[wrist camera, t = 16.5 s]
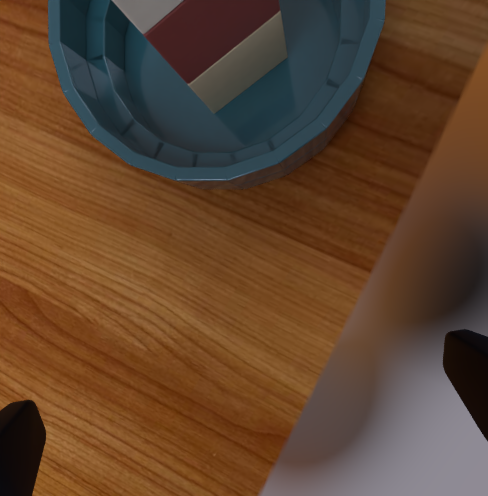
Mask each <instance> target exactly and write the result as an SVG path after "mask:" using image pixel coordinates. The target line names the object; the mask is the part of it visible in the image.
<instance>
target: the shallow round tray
mask: <svg viewBox="0 0 488 496" xmlns="http://www.w3.org/2000/svg"><path fill="white" fill-rule="evenodd" d="M279 5H280V11H281V17H282V23H283V30H284V36H285V42H286V49H287V55H288V57H287V58H286V59H285V60H283V61H282V62H281V63H279V64H278V65H277V66H276V67H274V68H273V69H272V70H270V71H269V72H268V73H267V74H265V75H264V76H263V77H261V78H260V79H259V80H257V81H256V82H255V83H254V84H252V85H251V86H250V87H248V88H247V89H246V90H245V91H243V92H242V93H241V94H239V95H238V96H237V97H236V98H234V99H233V100H232V101H230V102H229V103H228V104H226V105H225V106H224V107H223V108H221V109H220V110H219V111H217V112H216V113H215V114H214V113H213V112H212V111H211V110H210V109H209V108H208V107H207V106H206V105H205V103H204V102H203V101H202V100H201V99H200V98H199V97H198V96H197V95H196V93H195V92H194V91H193V90H192V89H191V88H190V87H189V86H188V84H187V83H186V82H185V81H184V80H183V79H182V78H181V77H180V76H179V74H178V73H177V72H176V71H175V70H174V69H173V68H172V67H171V66H170V64H169V63H168V62H167V61H166V60H165V59H164V58H163V57H162V56H161V54H160V53H159V52H158V51H157V50H156V49H155V48H154V47H153V46H152V44H151V43H150V42H149V41H148V40H147V39H146V38H145V37H144V36H143V34H142V33H141V32H140V31H139V30H138V29H137V28H136V27H135V26H134V24H133V23H132V22H131V21H130V20H129V19H128V18H127V17H126V16H125V14H124V13H123V12H122V11H121V10H120V9H119V8H118V7H117V6H116V4H115V3H114V2H113V1H112V0H48V38H49V48H50V51H51V54H52V58H53V61H54V64H55V68H56V71H57V74H58V78H59V81H60V85H61V88H62V91H63V93H64V95H65V97H66V98H67V100H68V101H69V103H70V104H71V106H72V107H73V109H74V110H75V112H76V113H77V115H78V116H79V118H80V119H81V121H82V122H83V124H84V125H85V127H86V128H87V130H88V131H89V133H90V134H91V135H92V136H93V137H94V138H96V139H97V140H98V141H99V142H101V143H102V144H103V145H104V146H106V147H107V148H108V149H110V150H111V151H112V152H113V153H115V154H116V155H117V156H119V157H120V158H121V159H122V160H124V161H125V162H126V163H127V164H130V165H131V166H134V167H137V168H140V169H142V170H145V171H148V172H151V173H154V174H157V175H160V176H163V177H166V178H169V179H171V180H174V181H177V182H181V183H184V184H187V185H190V186H193V187H196V188H199V189H235V190H243V189H247V188H250V187H253V186H256V185H260V184H263V183H266V182H269V181H272V180H275V179H278V178H281V177H284V176H286V175H288V174H290V173H291V172H292V171H294V170H295V169H297V168H298V167H299V166H301V165H302V164H303V163H305V162H306V161H308V160H309V159H310V158H312V157H313V156H315V155H316V154H317V153H319V152H320V151H322V150H323V149H324V148H325V147H326V146H327V144H328V143H329V142H330V140H331V139H332V138H333V136H334V135H335V134H336V132H337V131H338V130H339V128H340V127H341V126H342V124H343V123H344V122H345V120H346V119H347V118H348V117H349V115H350V114H351V113H352V111H353V109H354V107H355V104H356V101H357V99H358V96H359V93H360V90H361V88H362V85H363V82H364V79H365V77H366V74H367V71H368V68H369V66H370V63H371V60H372V57H373V54H374V51H375V48H376V45H377V42H378V40H379V37H380V34H381V31H382V28H383V25H384V20H385V6H386V0H279Z"/></svg>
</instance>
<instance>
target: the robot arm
mask: <svg viewBox="0 0 488 496" xmlns="http://www.w3.org/2000/svg"><path fill="white" fill-rule="evenodd" d="M443 367H444V370H445V373H446V374H447V376H448V378H449V380H450V381H451V383H452V385H453V386H454V388H455V390H456V391H457V393H458V394H459V396H460V398H461V400H462V401H463V403H464V405H465V406H466V408H467V409H468V411H469V413H470V414H471V416H472V418H473V419H474V421H475V423H476V424H477V426H478V428H479V429H480V431H481V432H482V434H483V435H484V437H485V438H486V440H487V441H488V337H486V336H484V335H481V334H478V333H475V332H473V331H470V330H466V329H464V330H457V331H450V332H448V333H447V334H446V336H445V343H444V354H443ZM45 441H46V430H45V427H44V424H43V422H42V419H41V416H40V414H39V411H38V409H37V406H36V404H35V403H34V402H33V401H32V400H24V401H18V402H13V403H10V404H9V405H7V406H6V407H4V408H3V409H2V410H0V496H32V493H33V489H34V485H35V481H36V477H37V473H38V469H39V465H40V461H41V457H42V453H43V449H44V445H45Z"/></svg>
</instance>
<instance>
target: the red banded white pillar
mask: <svg viewBox="0 0 488 496" xmlns="http://www.w3.org/2000/svg"><path fill="white" fill-rule="evenodd" d="M112 1H113V2H114V3H115V4H116V6H117V7H118V8H119V9H120V10H121V11H122V12H123V13H124V14H125V16H126V17H127V18H128V19H129V20H130V21H131V22H132V23H133V24H134V26H135V27H136V28H137V29H138V30H139V31H140V32H141V33H142V34H143V36H144V37H145V38H146V39H147V40H148V41H149V42H150V43H151V44H152V46H153V47H154V48H155V49H156V50H157V51H158V52H159V53H160V54H161V56H162V57H163V58H164V59H165V60H166V61H167V62H168V63H169V64H170V66H171V67H172V68H173V69H174V70H175V71H176V72H177V73H178V74H179V76H180V77H181V78H182V79H183V80H184V81H185V82H186V83H187V84H188V86H189V87H190V88H191V89H192V90H193V91H194V92H195V93H196V95H197V96H198V97H199V98H200V99H201V100H202V101H203V102H204V103H205V105H206V106H207V107H208V108H209V109H210V110H211V111H212V112H213V113H214V114H215V113H216V112H217V111H219V110H220V109H221V108H223V107H224V106H225V105H226V104H228V103H229V102H230V101H232V100H233V99H234V98H236V97H237V96H238V95H239V94H241V93H242V92H243V91H245V90H246V89H247V88H248V87H250V86H251V85H252V84H254V83H255V82H256V81H257V80H259V79H260V78H261V77H263V76H264V75H265V74H267V73H268V72H269V71H270V70H272V69H273V68H274V67H276V66H277V65H278V64H279V63H281V62H282V61H283V60H285V59H286V58H287V57H288V55H287V49H286V42H285V36H284V30H283V23H282V17H281V11H280V5H279V0H112Z"/></svg>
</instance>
